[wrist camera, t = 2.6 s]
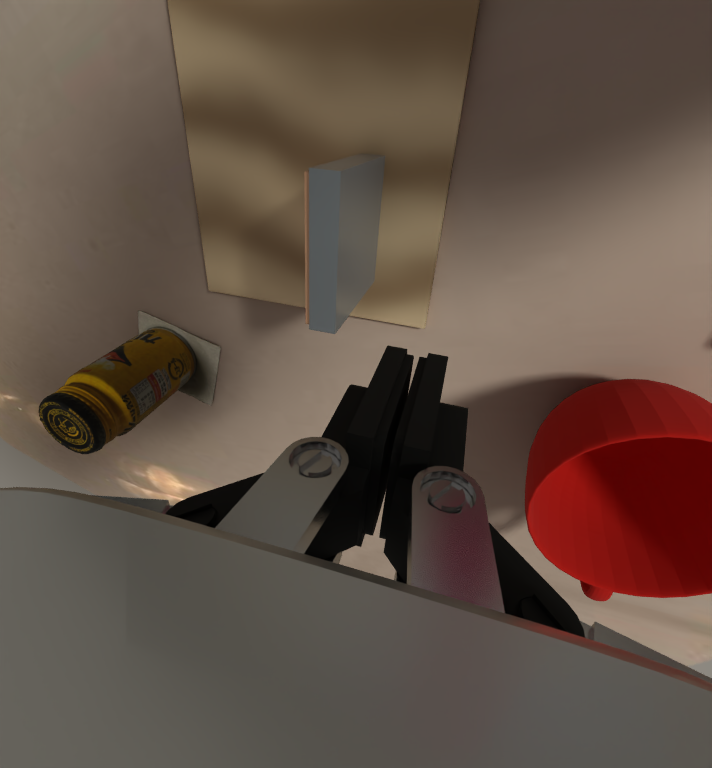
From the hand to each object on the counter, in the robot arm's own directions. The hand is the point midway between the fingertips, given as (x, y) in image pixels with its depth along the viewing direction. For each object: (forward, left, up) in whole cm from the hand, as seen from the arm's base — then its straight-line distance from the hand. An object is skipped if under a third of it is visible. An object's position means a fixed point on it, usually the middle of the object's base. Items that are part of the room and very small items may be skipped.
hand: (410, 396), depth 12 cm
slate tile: (0, -6, -19) cm, 20 cm away
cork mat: (-4, -10, -19) cm, 22 cm away
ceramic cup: (+14, +14, -20) cm, 28 cm away
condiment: (+15, -24, -20) cm, 35 cm away
